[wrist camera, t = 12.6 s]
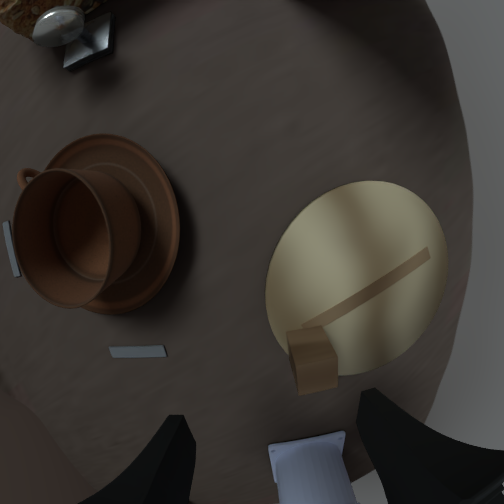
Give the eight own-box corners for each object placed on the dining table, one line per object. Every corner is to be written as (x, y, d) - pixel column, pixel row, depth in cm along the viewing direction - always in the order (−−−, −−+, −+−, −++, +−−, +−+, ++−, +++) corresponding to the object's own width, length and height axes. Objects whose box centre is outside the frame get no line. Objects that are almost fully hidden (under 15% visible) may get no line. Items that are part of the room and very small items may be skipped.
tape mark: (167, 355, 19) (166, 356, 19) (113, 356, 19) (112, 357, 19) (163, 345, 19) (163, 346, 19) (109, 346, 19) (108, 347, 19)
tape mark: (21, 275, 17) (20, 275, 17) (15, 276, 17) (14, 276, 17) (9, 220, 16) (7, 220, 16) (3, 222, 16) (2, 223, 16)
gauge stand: (112, 52, 14) (68, 12, 7) (69, 71, 14) (18, 43, 7) (115, 17, 13) (79, -26, 6) (74, 35, 13) (31, 3, 6)
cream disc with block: (316, 397, 21) (328, 435, 16) (222, 250, 17) (215, 273, 13) (454, 308, 19) (485, 330, 15) (408, 147, 16) (449, 141, 11)
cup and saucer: (36, 263, 17) (-12, 287, 11) (73, 120, 15) (21, 104, 9) (154, 328, 19) (126, 379, 13) (216, 173, 16) (201, 166, 11)
